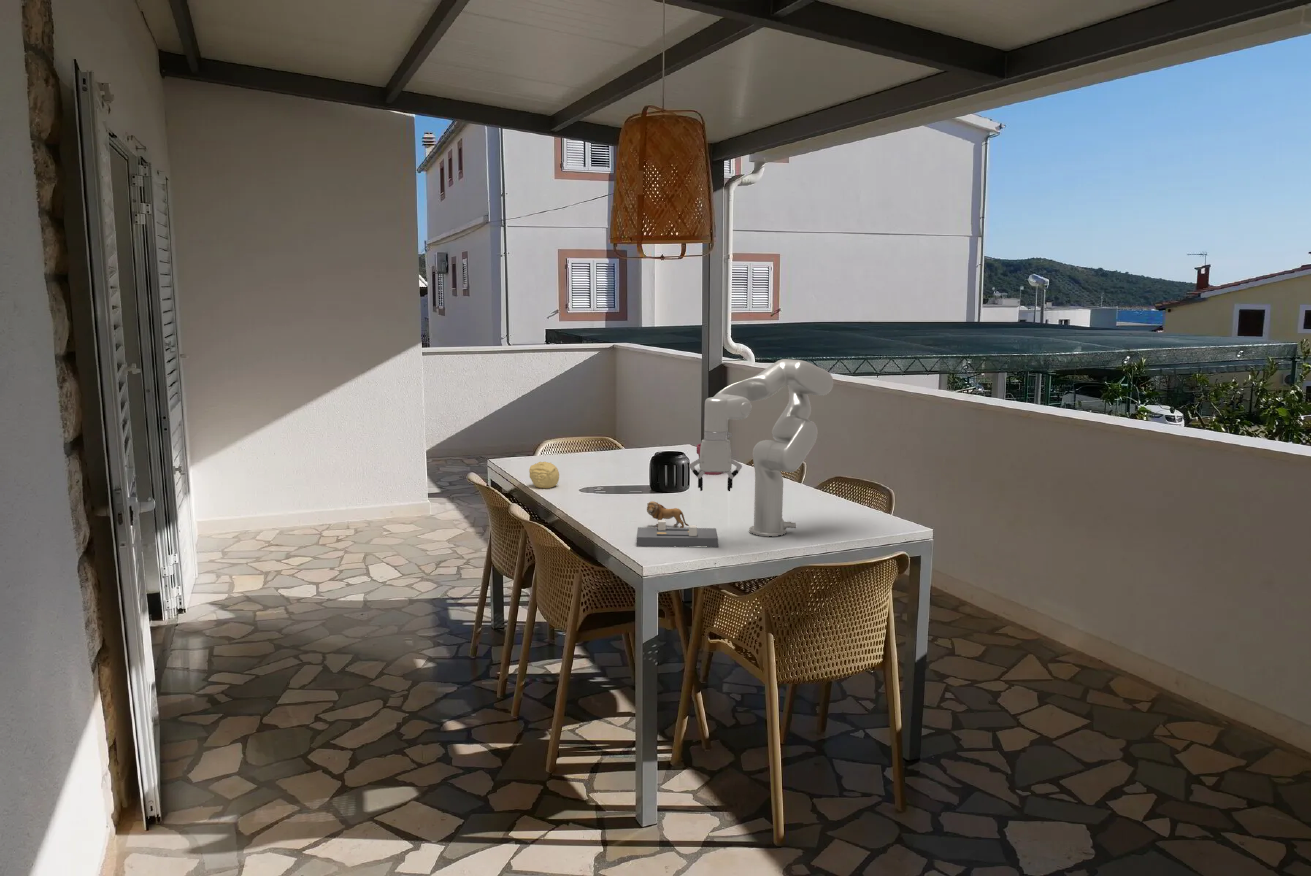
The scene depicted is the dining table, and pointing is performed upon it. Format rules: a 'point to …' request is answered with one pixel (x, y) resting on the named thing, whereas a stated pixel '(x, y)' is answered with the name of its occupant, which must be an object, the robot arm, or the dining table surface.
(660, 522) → the switch
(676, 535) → the switch board
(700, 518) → the dining table surface
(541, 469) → the sculpture
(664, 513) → the lion figurine
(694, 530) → the switch
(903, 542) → the dining table surface
